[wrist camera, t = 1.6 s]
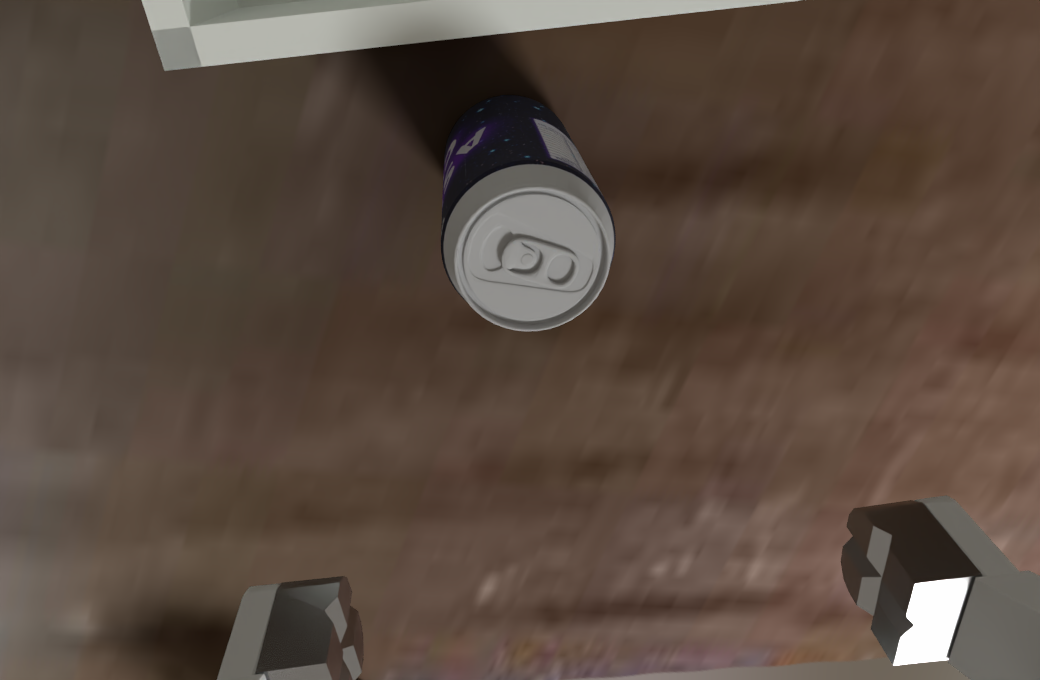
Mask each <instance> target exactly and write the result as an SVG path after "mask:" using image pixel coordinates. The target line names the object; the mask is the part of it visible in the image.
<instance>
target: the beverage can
mask: <svg viewBox="0 0 1040 680" xmlns="http://www.w3.org/2000/svg"><path fill="white" fill-rule="evenodd" d="M614 250H615V226H614V221H613V217H612V214H611V211H610V209H609V207H608V205H607V203H606V201H605V199H604V197H603V195H602V194H601V192H600V190H599V188H598V186H597V185H596V183H595V181H594V179H593V177H592V176H591V174H590V172H589V170H588V168H587V167H586V165H585V163H584V161H583V159H582V158H581V156H580V154H579V152H578V150H577V149H576V147H575V145H574V143H573V141H572V140H571V138H570V136H569V134H568V132H567V131H566V129H565V127H564V125H563V124H562V122H561V121H560V120H559V118H558V117H557V116H556V115H555V114H554V113H553V112H552V111H551V110H550V109H548V108H547V107H546V106H544V105H543V104H541V103H539V102H537V101H535V100H533V99H530V98H527V97H522V96H516V95H503V96H496V97H492V98H489V99H486V100H483V101H481V102H479V103H477V104H476V105H474V106H473V107H471V108H470V109H469V110H467V111H466V112H465V113H464V114H463V115H462V116H461V117H460V118H459V120H458V121H457V122H456V124H455V125H454V127H453V128H452V130H451V132H450V134H449V137H448V140H447V143H446V147H445V154H444V177H443V203H442V229H441V254H442V260H443V264H444V268H445V271H446V273H447V276H448V278H449V280H450V282H451V283H452V285H453V286H454V288H455V289H456V291H457V292H458V293H459V294H460V296H461V297H462V298H463V299H464V300H465V301H466V302H467V303H468V304H469V305H470V306H471V307H472V308H473V309H474V310H475V311H476V312H477V313H478V314H480V315H481V316H482V317H483V318H485V319H487V320H488V321H490V322H492V323H494V324H496V325H499V326H501V327H504V328H508V329H512V330H518V331H540V330H545V329H551V328H554V327H557V326H560V325H562V324H564V323H566V322H568V321H570V320H572V319H574V318H575V317H577V316H578V315H580V314H581V313H582V312H583V311H584V310H586V309H587V308H588V307H589V306H590V305H591V304H592V302H593V301H594V300H595V299H596V298H597V296H598V295H599V293H600V291H601V290H602V288H603V286H604V284H605V281H606V279H607V276H608V272H609V268H610V266H611V263H612V260H613V256H614Z"/></svg>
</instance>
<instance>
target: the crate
mask: <svg viewBox="0 0 1040 680" xmlns="http://www.w3.org/2000/svg"><path fill="white" fill-rule="evenodd" d="M792 1H801V0H142V3H143V6H144V9H145V12H146V15H147V18H148V21H149V24H150V28H151V31H152V34H153V37H154V40H155V43H156V46H157V49H158V52H159V55H160V58H161V61H162V64H163V68H164V71H167V70H176V69H185V68H195V67H204V66H213V65H222V64H231V63H240V62H249V61H258V60H267V59H276V58H285V57H294V56H303V55H312V54H321V53H330V52H339V51H348V50H358V49H367V48H376V47H385V46H394V45H403V44H412V43H421V42H430V41H439V40H448V39H457V38H466V37H475V36H484V35H493V34H502V33H512V32H521V31H530V30H539V29H548V28H557V27H566V26H575V25H584V24H593V23H602V22H611V21H620V20H629V19H638V18H647V17H656V16H665V15H675V14H684V13H693V12H702V11H711V10H720V9H729V8H738V7H747V6H756V5H765V4H774V3H783V2H792Z"/></svg>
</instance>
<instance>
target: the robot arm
mask: <svg viewBox="0 0 1040 680" xmlns="http://www.w3.org/2000/svg"><path fill="white" fill-rule="evenodd" d="M847 528H848V529H849V531H850V532H851V534H852V535H853V537H852V538H851V539H850V540H849V541H848V542H847V543H846V544H845V545H844V546H843V549H842V557H841V566H842V572H843V578H844V581H845V583H846V586H847V589H848V591H849V593H850V595H851V596H852V598H853V600H854V602H855V603H856V605H857V606H859V607H860V608H862V609H863V610H865V611H867V612H868V613H870V614H871V615H873V620H872V625H871V630H872V632H873V633H874V635H875V637H876V638H877V640H878V641H879V643H880V645H881V646H882V648H883V650H884V651H885V653H886V654H887V656H888V658H889V659H890V661H891V663H892V664H893V665H894V666H895V665H904V664H913V663H922V662H931V661H940V660H949V661H948V663H949V664H951V665H952V666H953V667H955V668H956V669H957V670H959V671H960V672H961V673H963V674H964V675H965V676H967V677H968V678H969V679H971V680H1040V576H1039V575H1037V574H1035V573H1033V572H1031V571H1020V572H1019V571H1018V570H1017V568H1016V567H1015V566H1014V565H1013V564H1012V563H1011V562H1010V561H1009V560H1008V558H1007V557H1006V556H1005V555H1004V554H1003V553H1002V552H1001V551H1000V549H999V548H998V547H997V546H996V545H995V544H994V543H993V542H992V541H991V539H990V538H989V537H988V536H987V535H986V534H985V533H984V532H983V531H982V529H981V528H980V527H979V526H978V525H977V524H976V523H975V522H974V521H973V519H972V518H971V517H970V516H969V515H968V514H967V513H966V512H965V511H964V509H963V508H962V507H961V506H960V505H959V504H958V503H957V502H956V501H955V500H954V499H952V498H950V497H949V496H940V497H933V498H925V499H918V500H914V501H912V500H910V501H903V502H896V503H889V504H882V505H875V506H868V507H861V508H854V509H853V510H852V512H851V513H850V514H849V517H848V522H847ZM351 596H352V590H351V587H350V584H349V582H348V579H347V577H344V576H341V577H331V578H322V579H312V580H303V581H293V582H284V583H280V584H270V585H261V586H252V587H249V588H248V590H247V591H246V592H245V594H244V595H243V597H242V600H241V603H240V607H239V610H238V613H237V616H236V619H235V623H234V626H233V629H232V632H231V636H230V639H229V642H228V645H227V648H226V652H225V655H224V658H223V661H222V664H221V668H220V671H219V674H218V677H217V680H356V679H357V677H358V676H359V675H360V674H361V672H362V665H363V632H362V625H361V620H360V617H359V613H358V611H357V610H356V609H354V608H353V607H351V606H350V603H351Z"/></svg>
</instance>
